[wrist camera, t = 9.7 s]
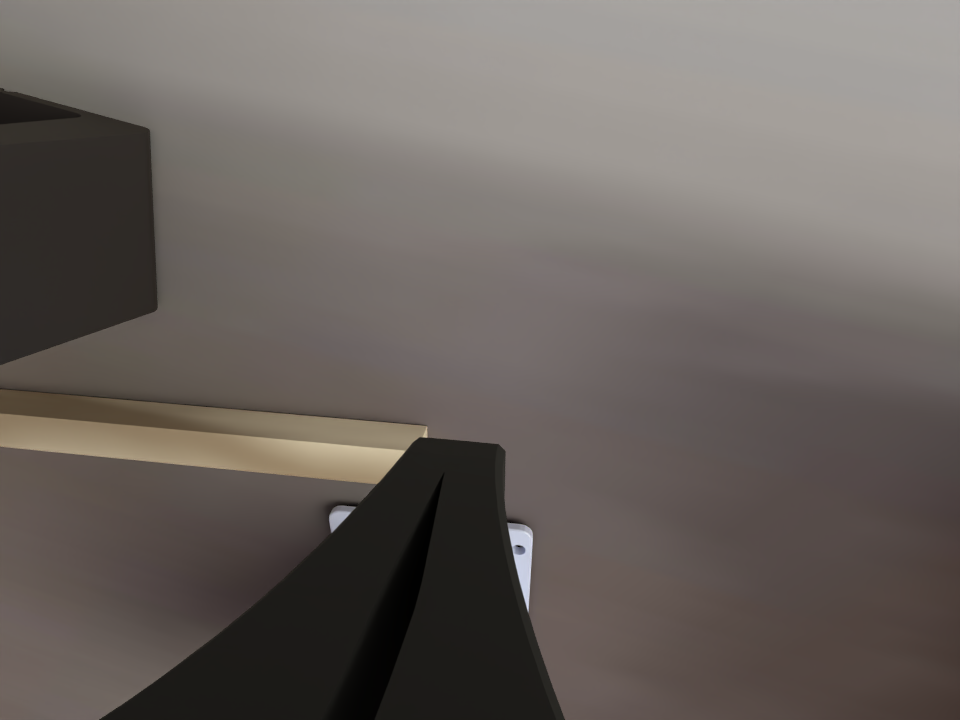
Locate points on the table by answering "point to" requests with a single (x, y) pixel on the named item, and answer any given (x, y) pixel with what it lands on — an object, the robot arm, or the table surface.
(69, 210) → the phone stand
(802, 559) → the table surface
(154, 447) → the bar
